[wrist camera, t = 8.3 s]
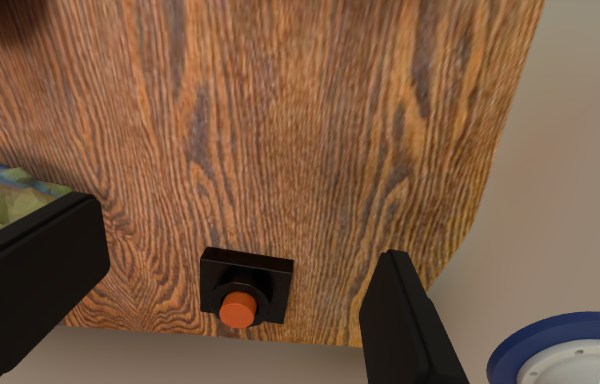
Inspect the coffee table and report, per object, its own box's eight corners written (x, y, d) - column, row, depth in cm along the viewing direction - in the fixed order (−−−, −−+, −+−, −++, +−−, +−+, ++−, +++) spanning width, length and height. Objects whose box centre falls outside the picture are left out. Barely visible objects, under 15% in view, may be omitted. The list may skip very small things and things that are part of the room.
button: (258, 293, 30) (255, 307, 28) (255, 317, 31) (252, 331, 30) (224, 288, 30) (219, 301, 28) (223, 312, 31) (218, 325, 30)
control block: (293, 260, 32) (290, 285, 28) (285, 309, 36) (281, 338, 32) (206, 246, 32) (192, 270, 28) (206, 297, 35) (194, 324, 32)
